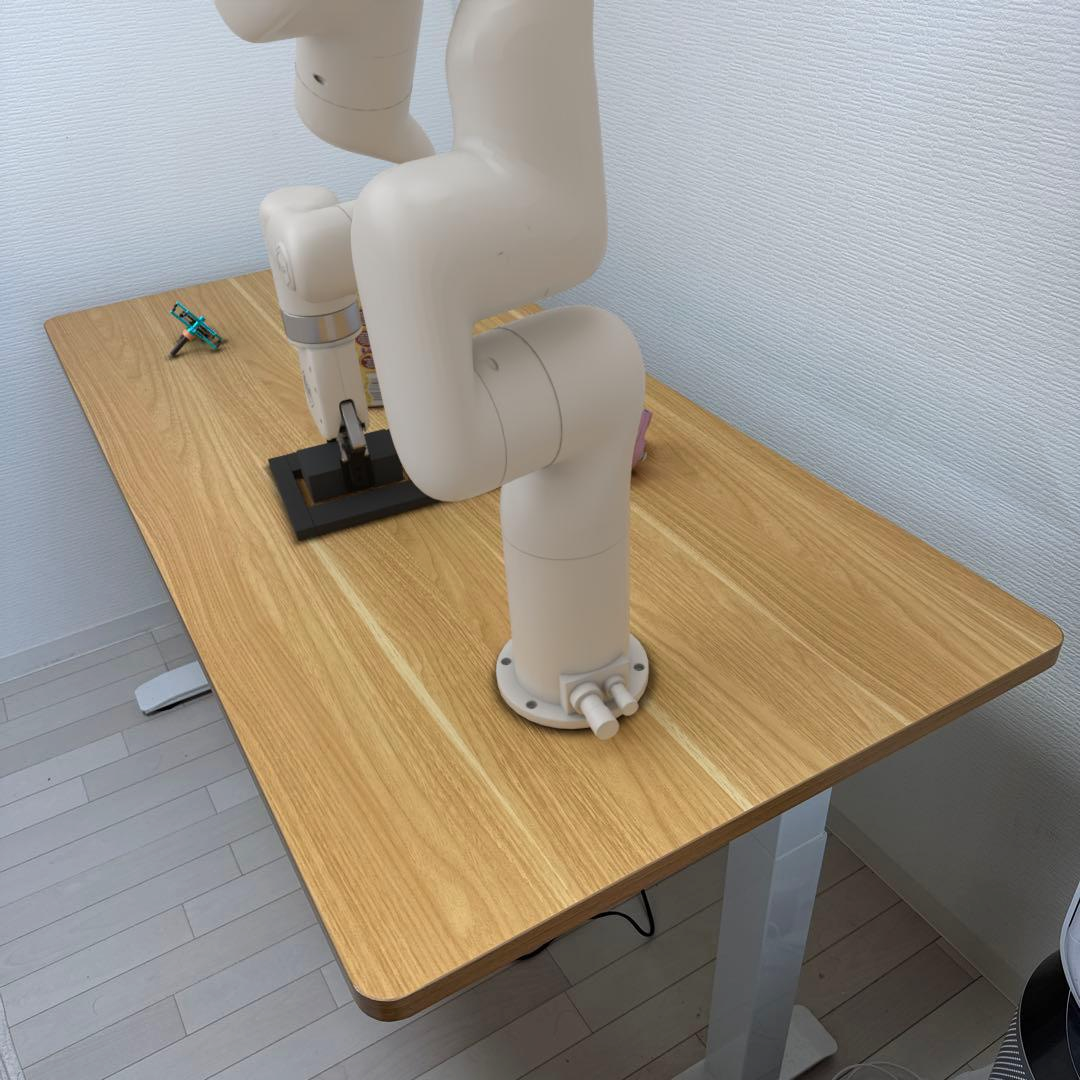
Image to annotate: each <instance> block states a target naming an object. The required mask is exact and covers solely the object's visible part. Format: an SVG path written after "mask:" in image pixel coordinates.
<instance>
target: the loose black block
mask: <svg viewBox="0 0 1080 1080" xmlns="http://www.w3.org/2000/svg"><path fill="white" fill-rule="evenodd" d="M386 430H387V429H386V428H382V429H378V430H374V431H373V430H372V431H371V432H369V431H368V432H365V433H364V436H365V440H366V444H367V448H368V452H369V454H370V458H371V464H372V469H373V475H374V480H375V485H374V486H373V487H369V488H366V489H362V490H358V491H354V492H350V493H348V492H346V490H345V487H344V482H343V477H342V472H341V468H340V463H339V459H342V458H341V454H340V450H339V446H338V443H337V441H334V442H329V443H327V442H325V443H321V444H317V445H313V446H309V447H304V448H301V449H297V450H296V452H297V455H298V459H299V463H300V467H301V472H302V476H303V478H302V479H303V481H304V483H305V485H306V488H307V490H308V492H309V495H310V497H311V499H312V501H313V504H319V503H323V502H324V501H325V502H327V501H330V500H334V499H338V498H342V497H345V496H349V495H353V494H357V493H361V492H364V491H368V490H372V489H376V488H379V487H383V486H387V485H391V484H395V483H398V482H402V481H405V476H404V468H403V465H402V463H401V461H400V459H399V456H398V454H397V451H396V449H395V446H394V443H393V441H392V439H391V438H390V436H389V435H388V433H387V431H386ZM343 440H344V444H345V448H346V446H347V445H348V444H349V438H346V439H343Z"/></svg>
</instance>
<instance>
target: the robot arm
mask: <svg viewBox="0 0 1080 1080" xmlns="http://www.w3.org/2000/svg"><path fill="white" fill-rule="evenodd" d="M213 3H214V5H215V8H216V11H217V13H218V14H219V16H220V17H221V19H222V21H223V23H224V24H225V25H226V27H228V29H229V30H230V31H231V32H232V33H233V35H235V36H236V37H238V38H239V39H241V40H243V41H245V42H248V43H250V44H266V43H271V42H273V43H274V42H279V41H286V40H291V39H295V61H294V88H293V89H294V90H293V92H294V93H293V96H294V97H293V98H294V106H295V110H296V113H297V115H298V118H299V119H300V120H301V122H302V123H303V125H304V126H305V127H306V128H307V130H309V131H310V132H311V133H312V134H313V135H314V136H316V137H317V138H318V139H319V140H321V141H323V142H325V143H327V144H328V145H330V146H333V147H335V148H338V149H340V150H344V151H346V152H349V153H353V154H357V155H361V156H364V157H369V158H373V159H377V160H381V161H385V162H388V163H392V164H393V166H391V167H389V168H387V169H385V170H382V171H380V172H379V173H378V174H376V175H374V177H372V178H371V179H370V180H368V182H367V183H366V184H365V185H364V187H363V188H362V189H361V191H360V193H359V195H358V196H357V199H353V200H349V201H345V202H341V201H340V199H339V197H338V195H337V193H335V192H334V191H332V190H331V189H330V188H328V187H325V186H321V185H315V184H314V185H312V184H301V185H292V186H286V187H284V188H283V187H282V188H280V189H277V190H274V191H272V192H270V193H268V194H267V195H265V196H264V198H263V199H262V200H261V202H260V204H259V209H258V215H259V221H260V225H261V230H262V235H263V239H264V243H265V248H266V252H267V256H268V261H269V265H270V270H271V275H272V277H273V283H274V287H275V292H276V297H277V300H278V305H279V311H280V315H281V321H282V324H283V328H284V332H285V338H286V341H287V342H288V343H289V344H290V345H292V346H294V347H296V351H297V357H298V362H299V367H300V373H301V378H302V383H303V389H304V395H305V400H306V404H307V408H308V410H309V413H310V415H311V417H312V419H313V422H314V423H315V425H316V428H317V429H318V431H319V433H320V435H321V437H322V438H323V439H325V440H326V443H329V442H334V441H337V443H338V446H339V450H340V454H341V458H342V459H339V463H340V468H341V472H342V477H343V482H344V487H345V490H346V492H348V493H350V492H354V491H358V490H362V489H366V488H369V487H373V486H374V485H375V480H374V475H373V469H372V464H371V458H370V454H369V452H368V448H367V444H366V440H365V436H364V434H365V433H364V432H367V431H369V428H370V425H371V423H370V416H369V415H370V414H369V408H368V407H367V402H366V396H365V391H364V385H363V380H362V375H361V370H360V366H359V359H358V356H357V351H356V345H355V338H356V337H357V336H359V335H360V333H361V332H362V329H363V327H362V322H361V316H360V311H359V305H358V299H357V293H358V292H359V296H360V301H361V305H362V310H363V314H364V319H365V323H366V328H367V332H368V337H369V341H370V346H371V350H372V355H373V359H374V364H375V368H376V373H377V377H378V382H379V387H380V391H381V396H382V400H383V405H384V406H383V408H384V413H385V417H386V420H387V425H388V429H389V430H390V433H391V436H392V440H393V443H394V446H395V449H396V451H397V454H398V456H399V459H400V461H401V463H402V468H403V470H404V471H405V473H406V474H407V476H408V478H409V480H412V481H413V483H414V484H415V485H416V486H417V487H418V488H419V489H420V490H421V491H422V492H423V493H425V494H426V495H428V496H430V497H432V498H434V499H437V500H441V502H447V503H448V502H449V503H450V502H451V503H452V502H461V501H465V500H469V499H472V498H476V497H478V496H481V495H484V494H486V493H488V492H491V491H493V490H496V489H499V488H500V495H499V520H500V521H499V522H500V531H501V542H502V551H503V561H504V572H505V580H506V581H505V583H506V592H507V601H508V602H507V605H508V611H509V612H508V613H509V622H510V623H509V624H510V632H511V633H510V634H511V637H510V639H509V640H508V641H507V642H506V643H505V644H504V645H503V647H502V649H501V650H500V652H499V655H498V657H497V660H496V666H495V667H496V670H495V671H496V672H495V673H496V674H495V675H496V683H497V687H498V690H499V693H500V695H501V697H502V698H503V700H504V701H505V703H506V704H507V705H508V706H509V708H511V709H512V710H513V711H514V712H515V713H516V714H518V715H519V716H521V717H523V718H524V719H526V720H528V721H530V722H532V723H536V724H538V725H541V726H545V727H549V728H554V729H564V730H565V729H566V730H567V729H568V730H577V729H586V728H587V729H589V728H590V729H591V730H592V732H593V733H594V735H595V737H596V738H597V739H598V740H601V741H606V740H610V739H611V738H613V737H614V736H615V735H617V733H618V732H619V729H620V724H619V721H618V720H617V719H618V718H619V717H621V716H623V715H624V716H625V717H628V716H633V715H634V714H635V713H636V712H638V709H639V703H638V702H639V701H640V699H641V698H642V697H643V695H644V693H645V692H646V688H647V685H648V684H649V683H648V681H649V675H650V674H649V673H650V671H649V659H648V655H647V653H646V652H647V651H646V650H645V648H644V647H643V645H642V643H641V642H640V640H638V639H637V637H636V636H634V635H633V633H631V602H630V601H631V594H630V593H631V591H630V590H631V579H630V578H631V577H630V576H631V572H630V571H631V565H630V564H631V562H630V561H631V560H630V559H631V558H630V557H631V555H630V553H631V551H630V550H631V549H630V548H631V544H630V543H631V540H630V539H631V538H630V537H631V535H630V533H631V531H630V529H631V527H630V526H631V480H632V469H633V468H632V459H633V452H634V447H635V441H636V437H637V433H638V428H639V424H640V420H641V415H642V410H643V409H644V406H645V404H644V403H645V397H646V384H647V383H646V369H645V362H644V357H643V354H642V351H641V348H640V345H639V343H638V341H637V339H636V336H635V335H634V334H633V332H632V330H631V329H630V328H629V327H628V326H627V325H626V323H625V322H624V321H623V320H622V319H620V318H619V317H618V316H617V315H616V314H613V313H611V312H610V311H608V310H607V309H603V308H601V307H597V306H595V305H586V304H572V305H571V304H569V305H564V306H557V307H552V308H548V309H546V310H545V309H544V310H542V311H538V312H536V313H533V314H530V315H527V316H524V317H522V318H518V319H516V320H512V321H510V322H506V323H504V324H501V325H498V326H495V327H492V328H490V329H489V330H485V331H483V332H480V333H477V334H475V335H474V328H475V325H476V324H477V323H478V322H481V321H483V320H486V319H490V318H493V317H496V316H499V315H502V314H504V313H507V312H511V311H513V310H516V309H519V308H521V307H525V306H527V305H531V304H533V303H537V302H539V301H542V300H545V299H548V298H551V297H553V296H555V295H559V294H561V293H563V292H567V291H568V290H571V289H574V288H575V287H577V286H579V285H581V284H583V283H584V282H585V281H587V280H588V279H590V278H592V277H593V276H594V274H595V273H597V272H598V269H600V267H601V266H602V264H603V263H604V260H605V257H606V252H607V248H608V238H609V217H608V215H609V214H608V198H607V188H606V175H605V163H604V153H603V152H604V151H603V149H604V148H603V139H602V127H601V126H602V125H601V114H600V113H601V112H600V102H599V93H598V92H599V90H598V82H597V74H596V72H597V71H596V64H595V47H594V13H595V12H594V11H595V10H594V9H595V8H594V7H595V0H460V1H459V3H458V6H457V9H456V12H455V14H454V17H453V20H452V21H453V22H452V25H451V27H450V31H449V34H448V39H447V44H446V50H445V58H444V60H445V61H444V66H445V67H444V68H445V69H444V70H445V81H446V86H447V93H448V97H449V102H450V103H449V104H450V109H451V117H452V126H453V127H452V128H453V142H452V146H451V148H450V150H449V151H447V152H442V153H438V154H437V152H436V149H435V147H434V145H433V143H432V141H431V139H430V137H429V136H428V134H427V133H426V131H425V129H423V127H422V126H421V124H420V123H419V121H417V119H415V117H414V116H413V115H412V113H410V105H411V99H412V93H413V85H414V78H415V72H416V71H415V69H416V61H417V55H418V48H419V40H420V35H421V34H420V33H421V25H422V19H423V11H424V3H425V0H213ZM346 438H349V444H348V445H347V446H346V448H345V444H344V440H343V439H346ZM631 468H632V469H631Z"/></svg>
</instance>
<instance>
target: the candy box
mask: <svg viewBox="0 0 1080 1080" xmlns="http://www.w3.org/2000/svg"><path fill="white" fill-rule="evenodd" d="M357 299H358V305H359V311H360V316H361V322H362V327H363V329H362V332H361V333H360V335H359V336H357V337H356V338H355V339H354V342H355V347H356V351H357V356H358V359H359V366H360V370H361V375H362V380H363V385H364V391H365V396H366V402H367V408H368V407H369V408H372V407H384V405H383V400H382V396H381V391H380V387H379V382H378V377H377V373H376V368H375V364H374V359H373V355H372V350H371V346H370V341H369V337H368V332H367V328H366V323H365V319H364V314H363V310H362V305H361V301H360V296H359V292H358V293H357Z"/></svg>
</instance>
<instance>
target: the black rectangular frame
mask: <svg viewBox="0 0 1080 1080" xmlns="http://www.w3.org/2000/svg"><path fill="white" fill-rule="evenodd" d="M385 430H386V431H387V433H388V435H389V436H390V438H391V439H392V436H391V433H390V430H389V428H387V429H385ZM392 441H393V440H392ZM267 461H268V466H269V469H270V471H271V474H272V477H273V479H274V482H275V484H276V487H277V489H278V493H279V495H280V497H281V500H282V503H283V505H284V509H285V511H286V513H287V517H288V519H289V521H290V524H291V526H292V529H293V532H294V535H295V537H296V539H297V541H302V540H306V539H311V538H313V537H317V536H321V535H325V534H328V533H332V532H335V531H338V530H339V531H340V530H342V529H346V528H350V527H354V526H357V525H361V524H365V523H368V522H372V521H375V520H379V519H384V518H386V517H387V518H388V517H390V516H393V515H398V514H401V513H404V512H409V511H413V510H415V509H419V508H423V507H426V506H431V505H435V504H438V503H441V502H442V501H441V500H437V499H434V498H432V497H430V496H428V495H426V494H425V493H423V492H422V491H421V490H420V489H419V488H418V487H417V486H416V485H415V484H414V483H413V481H412V480H411V479H408V480H402V481H399V482H395V483H391V484H387V485H384V486H380V487H376V488H372V489H369V490H365V491H361V492H357V493H354V494H350V495H346V496H342V497H339V498H335V499H331V500H327V501H325V502H324V501H323V502H320V503H316V504H313V505H309V506H307V504H306V501H305V499H304V497H303V494H302V492H301V489H300V487H299V485H298V482H297V480H298V479H304V478H303V476H302V472H301V467H300V463H299V459H298V455H297V451H295V452H290V453H286V454H283V455H279V456H275V457H270V458H268V459H267Z"/></svg>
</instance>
